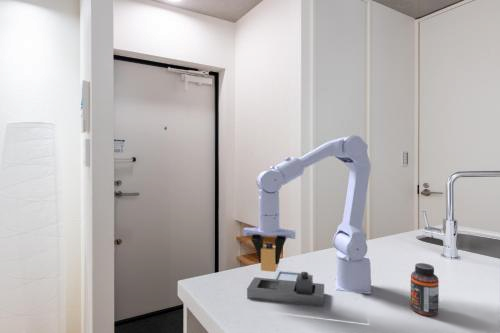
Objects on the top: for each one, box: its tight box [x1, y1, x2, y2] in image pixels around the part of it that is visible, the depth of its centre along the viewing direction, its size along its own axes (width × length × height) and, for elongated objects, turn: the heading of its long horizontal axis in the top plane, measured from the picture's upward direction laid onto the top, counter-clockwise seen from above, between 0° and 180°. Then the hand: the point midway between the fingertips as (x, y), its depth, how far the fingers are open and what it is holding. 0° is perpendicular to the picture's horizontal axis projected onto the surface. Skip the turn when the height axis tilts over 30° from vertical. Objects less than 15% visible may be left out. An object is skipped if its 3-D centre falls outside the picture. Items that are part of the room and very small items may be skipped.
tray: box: [273, 270, 311, 281], centre depth 92 cm, size 11×11×1 cm
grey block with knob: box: [296, 271, 314, 294], centre depth 80 cm, size 4×4×7 cm
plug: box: [260, 241, 279, 273], centre depth 84 cm, size 4×4×7 cm
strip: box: [246, 276, 325, 308], centre depth 82 cm, size 20×8×3 cm, turn 75°
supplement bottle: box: [410, 262, 440, 317], centre depth 74 cm, size 6×6×11 cm
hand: (269, 262), depth 84 cm, fingers closed on plug, 4 cm apart
